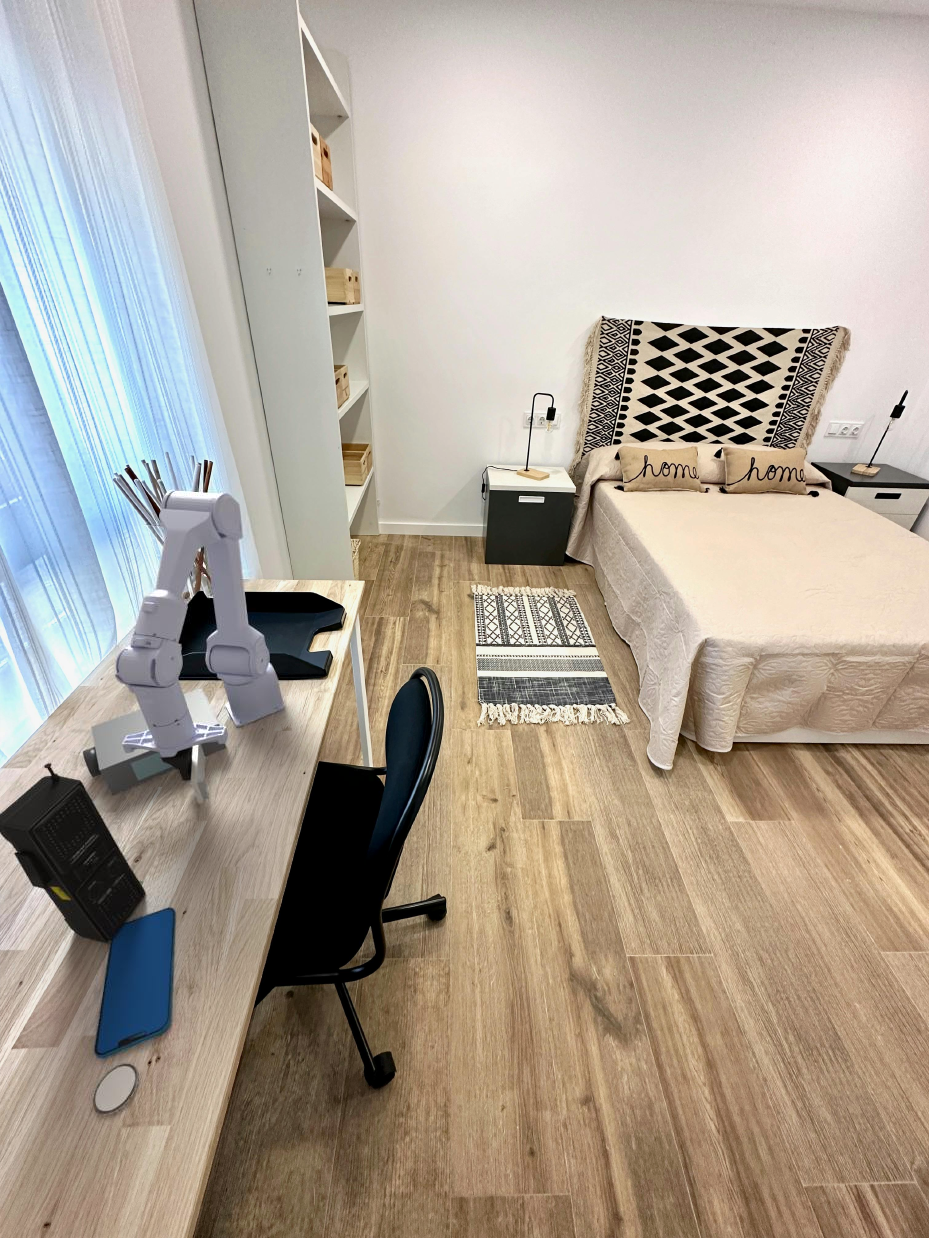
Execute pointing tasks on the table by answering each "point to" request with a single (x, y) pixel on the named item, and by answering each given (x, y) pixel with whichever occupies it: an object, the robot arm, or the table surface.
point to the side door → (199, 774)
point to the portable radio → (72, 856)
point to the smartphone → (137, 983)
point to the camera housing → (141, 763)
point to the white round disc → (115, 1088)
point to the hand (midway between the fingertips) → (190, 775)
